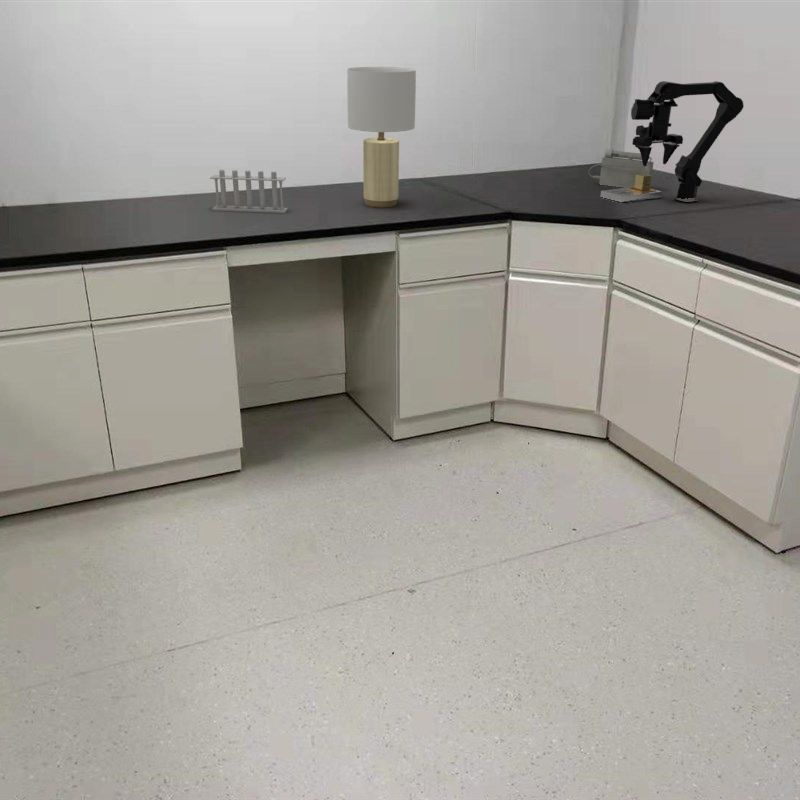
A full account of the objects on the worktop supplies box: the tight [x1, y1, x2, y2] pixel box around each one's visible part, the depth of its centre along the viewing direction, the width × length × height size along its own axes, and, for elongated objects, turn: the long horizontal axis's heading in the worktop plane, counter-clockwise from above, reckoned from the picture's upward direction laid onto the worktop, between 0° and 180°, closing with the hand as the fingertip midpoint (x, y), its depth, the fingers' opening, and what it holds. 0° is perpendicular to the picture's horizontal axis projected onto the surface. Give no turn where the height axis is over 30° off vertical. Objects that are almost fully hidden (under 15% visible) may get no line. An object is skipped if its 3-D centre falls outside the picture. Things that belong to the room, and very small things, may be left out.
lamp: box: [346, 66, 417, 209], centre depth 284 cm, size 23×23×44 cm
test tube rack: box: [209, 169, 289, 214], centre depth 280 cm, size 25×4×13 cm, turn 85°
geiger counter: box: [587, 148, 655, 188], centre depth 324 cm, size 14×6×25 cm
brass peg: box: [634, 174, 652, 191], centre depth 310 cm, size 4×4×8 cm
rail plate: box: [600, 187, 663, 202], centre depth 309 cm, size 20×11×3 cm, turn 119°
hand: (654, 165), depth 299 cm, fingers open, 9 cm apart
